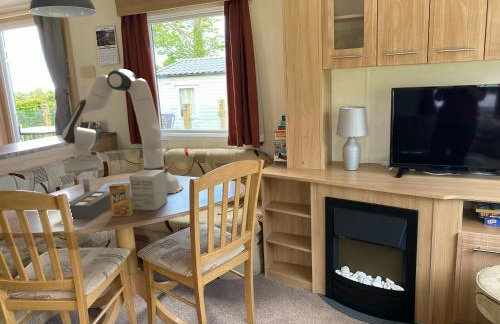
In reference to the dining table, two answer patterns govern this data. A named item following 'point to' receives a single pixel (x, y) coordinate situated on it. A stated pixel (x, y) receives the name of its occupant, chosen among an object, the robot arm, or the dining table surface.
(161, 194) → the supplement box
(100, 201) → the board
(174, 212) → the dining table surface
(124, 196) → the candy box
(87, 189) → the steel stylus
